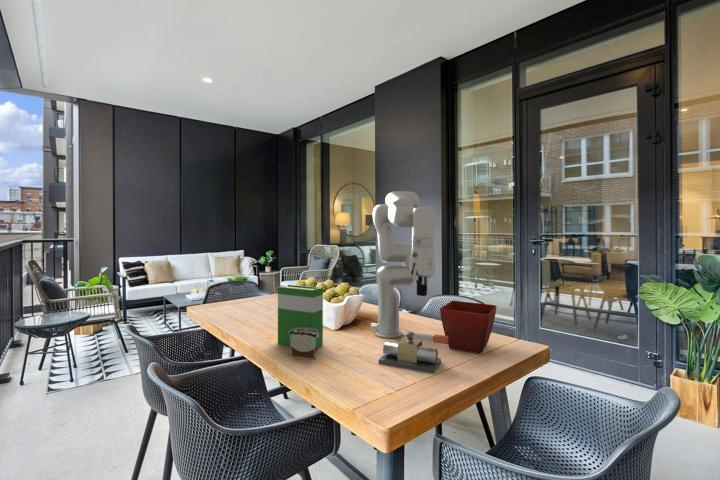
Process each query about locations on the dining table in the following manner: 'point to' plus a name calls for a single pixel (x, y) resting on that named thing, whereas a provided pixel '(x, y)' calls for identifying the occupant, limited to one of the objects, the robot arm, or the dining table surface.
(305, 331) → the food container
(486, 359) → the dining table surface
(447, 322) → the plant pot
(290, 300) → the green cereal box
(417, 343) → the valve body
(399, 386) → the dining table surface
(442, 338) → the valve lever
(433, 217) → the robot arm
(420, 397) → the dining table surface
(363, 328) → the dining table surface
